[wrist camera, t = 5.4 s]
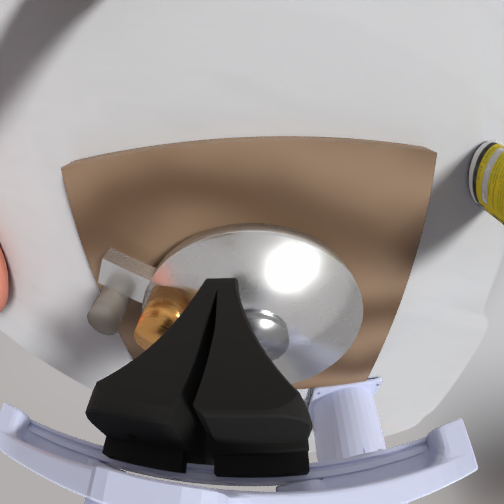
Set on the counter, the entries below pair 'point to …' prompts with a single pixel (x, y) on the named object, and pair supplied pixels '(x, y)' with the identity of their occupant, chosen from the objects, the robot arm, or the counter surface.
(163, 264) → the silver rounded shallow piece
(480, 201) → the supplement bottle
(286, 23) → the counter surface
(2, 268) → the sugar bowl
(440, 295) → the counter surface
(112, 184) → the post board
